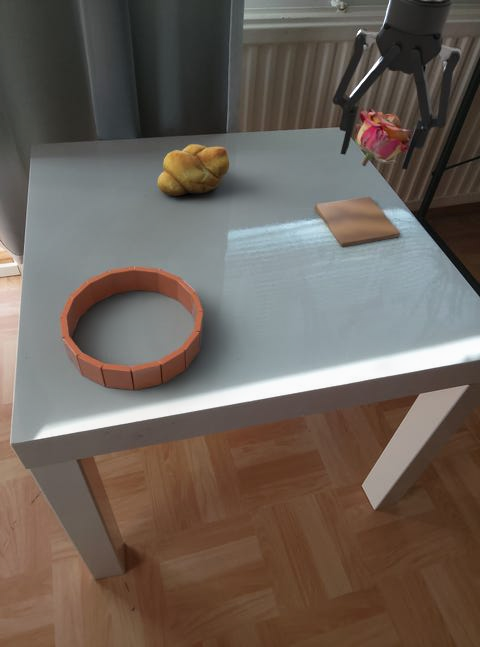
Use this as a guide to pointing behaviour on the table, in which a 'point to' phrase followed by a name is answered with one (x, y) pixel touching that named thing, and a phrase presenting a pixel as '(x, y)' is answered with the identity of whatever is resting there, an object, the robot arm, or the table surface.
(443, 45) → the robot arm
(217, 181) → the bread roll
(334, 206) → the brown wooden square board
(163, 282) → the terracotta brick ring
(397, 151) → the flower
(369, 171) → the table surface
